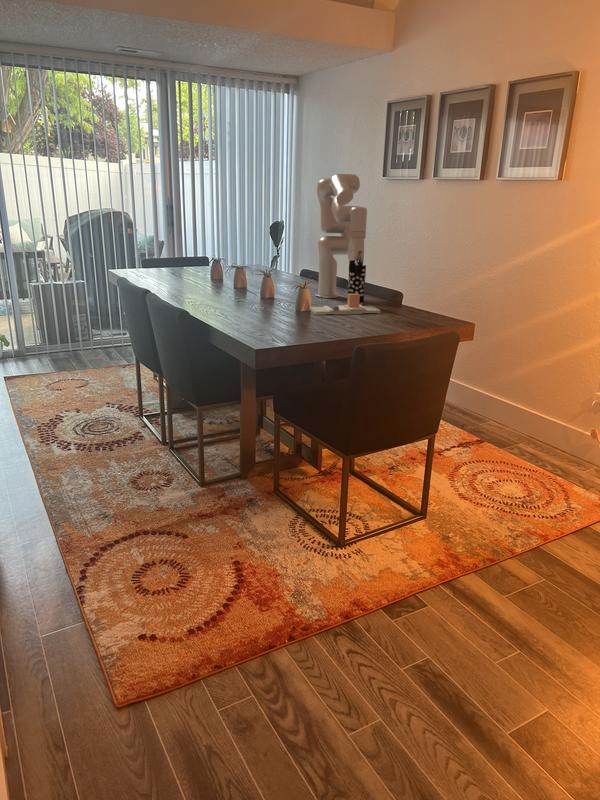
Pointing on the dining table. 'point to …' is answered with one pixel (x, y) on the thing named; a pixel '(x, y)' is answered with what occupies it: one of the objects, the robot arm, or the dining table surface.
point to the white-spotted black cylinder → (357, 284)
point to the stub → (354, 302)
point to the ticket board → (341, 309)
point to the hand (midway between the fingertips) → (355, 272)
